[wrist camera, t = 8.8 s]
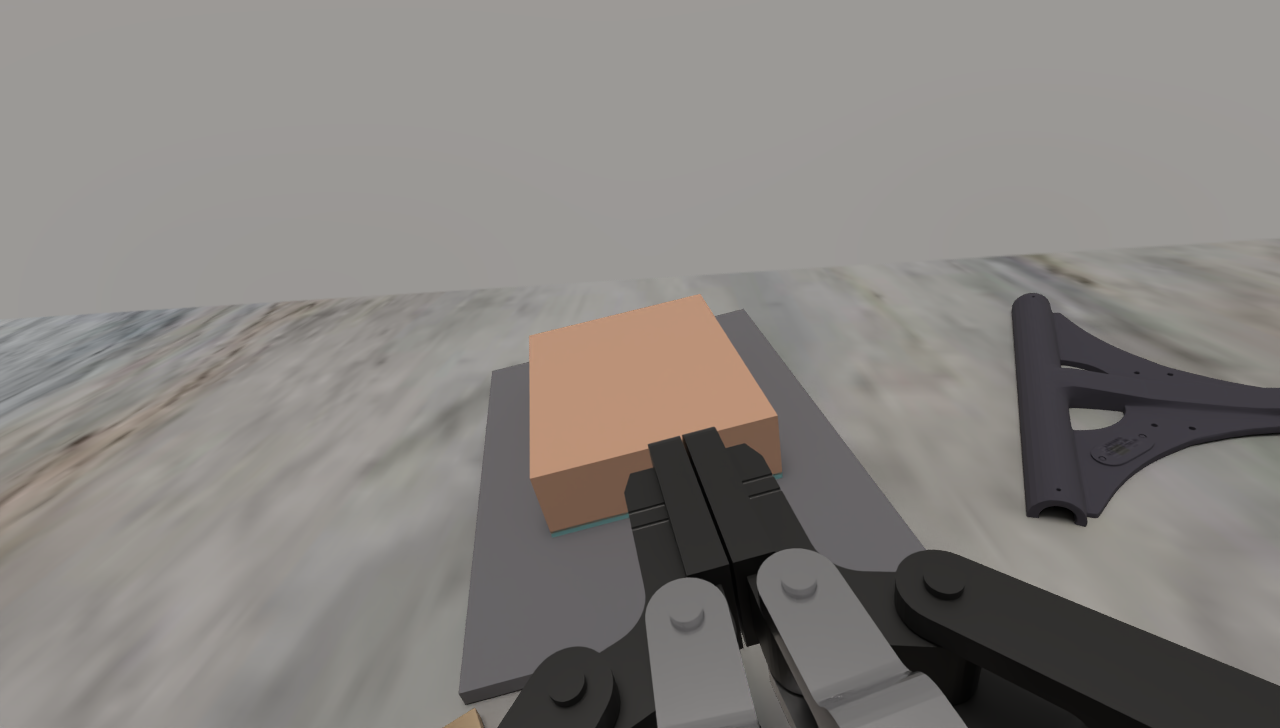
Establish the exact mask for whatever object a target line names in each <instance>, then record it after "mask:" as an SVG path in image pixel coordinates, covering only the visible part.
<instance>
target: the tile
mask: <svg viewBox="0 0 1280 728" xmlns="http://www.w3.org/2000/svg"><path fill="white" fill-rule="evenodd" d="M529 377H530V481H531V483H532V486H533V488H534V491H535V494H536V496H537V499H538V502H539V504H540V507H541V509H542V512H543V515H544V517H545V520H546V522H547V525H548V528H549V530H550V533H551V535H552V538H553V537H557V536H561V535H564V534H568V533H572V532H576V531H580V530H584V529H587V528H591V527H595V526H599V525H603V524H607V523H610V522H614V521H618V520H622V519H626V518H629V514H628V509H627V505H626V500H625V495H624V491H625V488H626V485H627V482H628V478H629V475H630V474H631V473H634V472H638V471H642V470H646V469H649V468H653V466H652V461H651V457H650V453H649V449H648V444H650V443H654V442H657V441H661V440H665V439H669V438H673V437H676V436H680V437H681V439H682V435H683V434H687V433H691V432H695V431H699V430H702V429H706V428H710V427H715V428H716V429H717V431H718V433H719V436H720V438H721V440H722V442H723V444H724V446H725V448H728V447H732V446H735V445H739V444H743V443H745V444H747V445H748V446H750V447H751V448H752V449H754V450H755V451H757V452H758V453H759V454H761V455H762V456H763V458H764V459H765V461H766V463H767V465H768V467H769V468H770V470H771V472H772V475H773V477H775V479H779V478H783V476H782V463H781V450H780V438H779V425H778V415H777V414H776V412H775V410H774V409H773V407H772V406H771V404H770V403H769V401H768V399H767V398H766V396H765V395H764V393H763V392H762V390H761V388H760V387H759V385H758V384H757V382H756V381H755V379H754V377H753V376H752V374H751V373H750V371H749V370H748V368H747V367H746V365H745V363H744V362H743V360H742V359H741V357H740V356H739V354H738V352H737V351H736V349H735V348H734V346H733V345H732V343H731V341H730V340H729V338H728V337H727V335H726V334H725V332H724V330H723V329H722V327H721V326H720V324H719V323H718V321H717V319H716V318H715V316H714V315H713V313H712V312H711V310H710V309H709V307H708V305H707V304H706V302H705V301H704V299H703V298H702V296H701V294H698V295H694V296H690V297H686V298H682V299H678V300H674V301H670V302H665V303H661V304H657V305H653V306H649V307H645V308H641V309H637V310H633V311H629V312H625V313H620V314H616V315H612V316H608V317H604V318H600V319H596V320H592V321H588V322H584V323H580V324H576V325H571V326H567V327H563V328H559V329H555V330H551V331H547V332H543V333H539V334H535V335H531V336H529ZM682 442H683V441H682Z"/></svg>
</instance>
